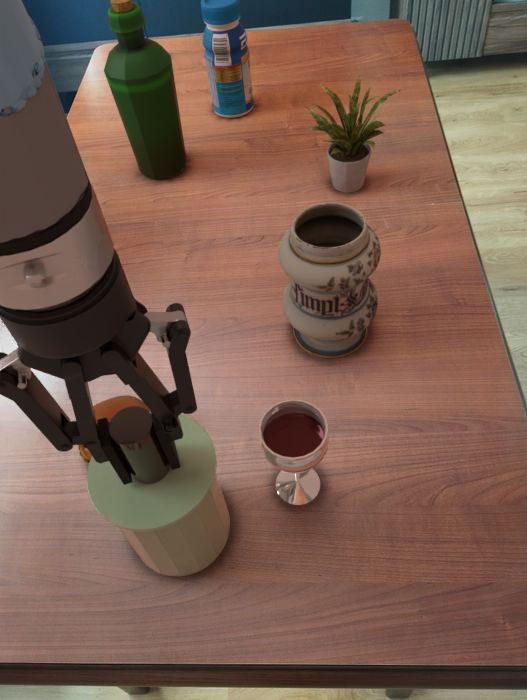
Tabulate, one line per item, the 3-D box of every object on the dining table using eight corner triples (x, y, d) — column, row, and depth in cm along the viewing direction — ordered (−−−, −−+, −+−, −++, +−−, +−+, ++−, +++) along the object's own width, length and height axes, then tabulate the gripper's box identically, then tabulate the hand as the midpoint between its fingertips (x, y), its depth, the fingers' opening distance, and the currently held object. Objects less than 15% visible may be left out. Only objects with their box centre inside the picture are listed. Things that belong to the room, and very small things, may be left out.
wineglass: (255, 478, 66) (244, 422, 56) (303, 446, 68) (299, 387, 59) (291, 525, 62) (285, 473, 53) (341, 489, 64) (343, 433, 55)
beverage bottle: (204, 109, 117) (185, 1, 101) (236, 92, 120) (222, -15, 104) (231, 124, 113) (216, 13, 97) (263, 106, 116) (253, -4, 100)
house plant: (375, 147, 104) (381, 54, 91) (410, 191, 95) (423, 95, 82) (299, 167, 102) (295, 75, 89) (329, 214, 93) (329, 119, 81)
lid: (64, 499, 52) (27, 455, 45) (140, 400, 58) (116, 349, 51) (171, 558, 48) (147, 518, 41) (241, 445, 54) (229, 395, 47)
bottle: (200, 151, 108) (167, -17, 86) (182, 187, 101) (142, 15, 79) (146, 148, 110) (101, -17, 88) (126, 183, 104) (72, 14, 82)
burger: (178, 424, 71) (169, 403, 67) (138, 491, 66) (127, 472, 63) (111, 400, 74) (100, 379, 71) (68, 462, 69) (53, 442, 66)
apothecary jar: (308, 287, 84) (304, 181, 70) (388, 312, 80) (401, 204, 66) (269, 347, 77) (256, 244, 63) (354, 377, 73) (360, 274, 59)
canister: (115, 548, 62) (76, 499, 52) (169, 468, 68) (142, 410, 58) (197, 594, 58) (171, 551, 49) (247, 506, 64) (233, 451, 54)
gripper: (-106, 358, 30) (58, 531, 48) (208, 273, 32) (251, 471, 50) (-93, 264, 34) (52, 455, 53) (180, 195, 36) (229, 402, 55)
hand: (149, 462), depth 51 cm, fingers closed on lid, 4 cm apart
